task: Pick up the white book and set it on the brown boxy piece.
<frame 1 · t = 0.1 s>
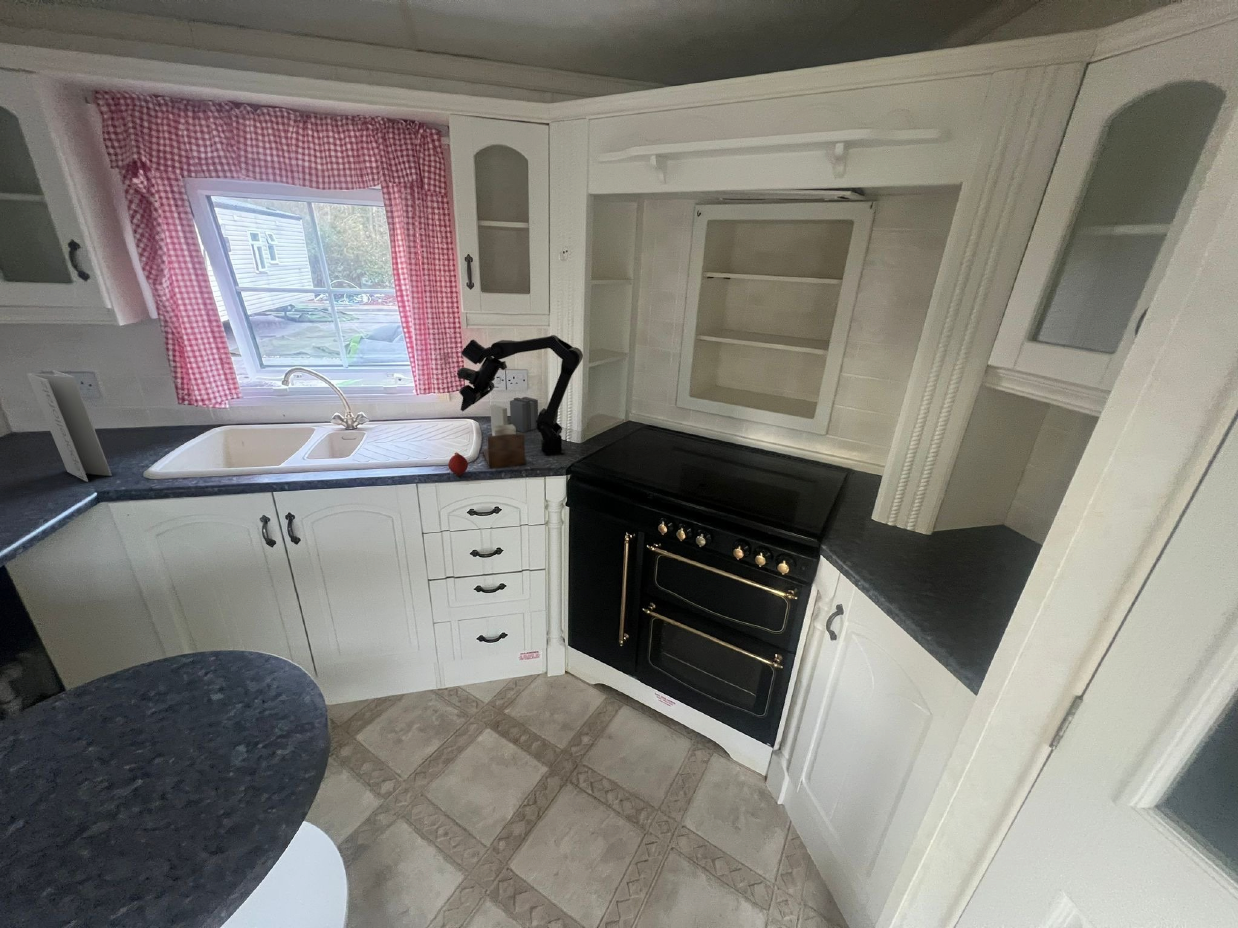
hand: (467, 407, 178), 15 cm above the countertop, tool tilted 35°, fingers open, 9 cm apart
white book: (500, 436, 195), on the countertop
brochure: (89, 474, 149), on the countertop
onion: (459, 476, 158), on the countertop
grey books: (524, 428, 206), on the countertop
brown boxy piece: (503, 458, 173), on the countertop
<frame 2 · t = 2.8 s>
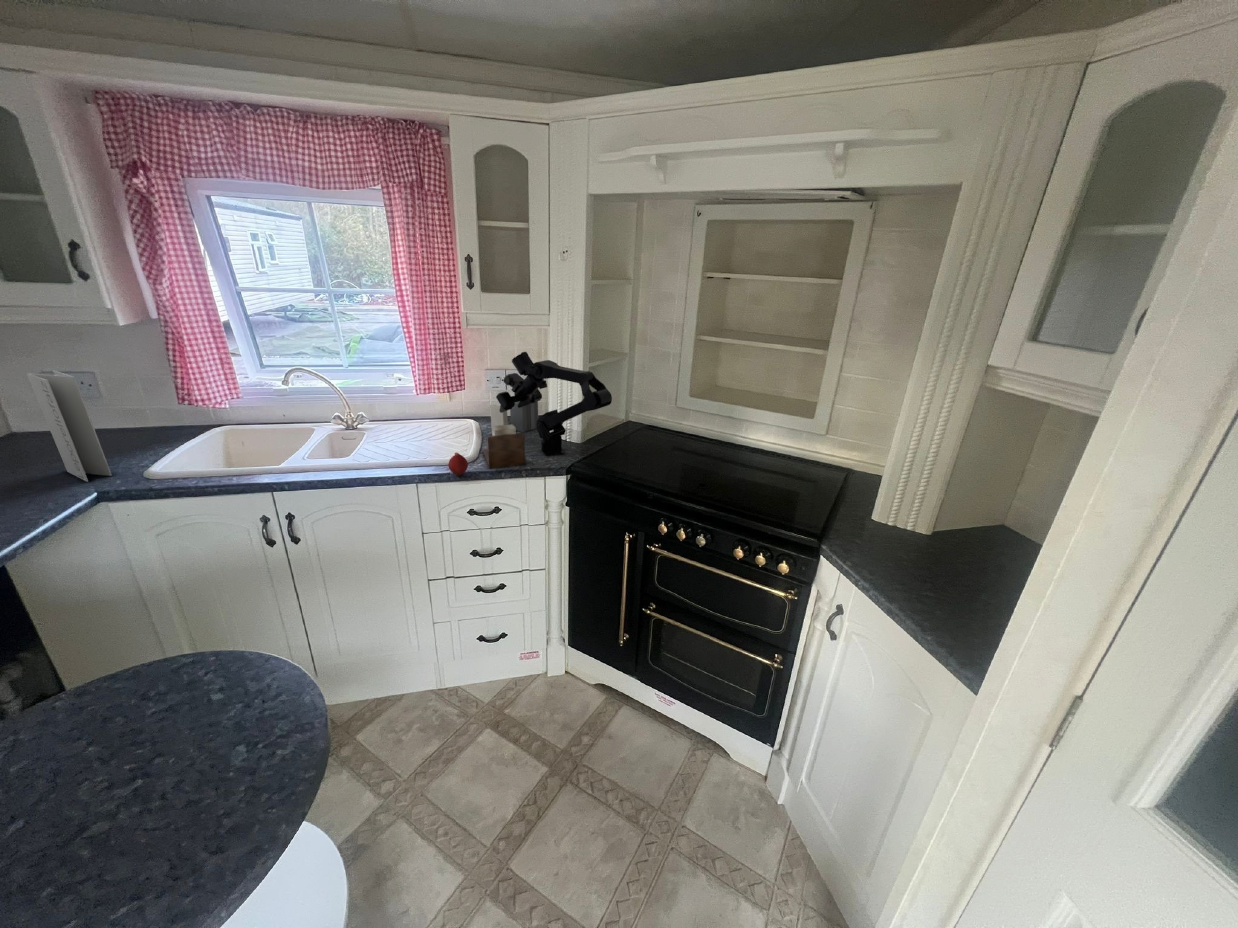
hand: (509, 409, 187), 12 cm above the countertop, tool tilted 45°, fingers open, 9 cm apart
nothing on the countertop moved.
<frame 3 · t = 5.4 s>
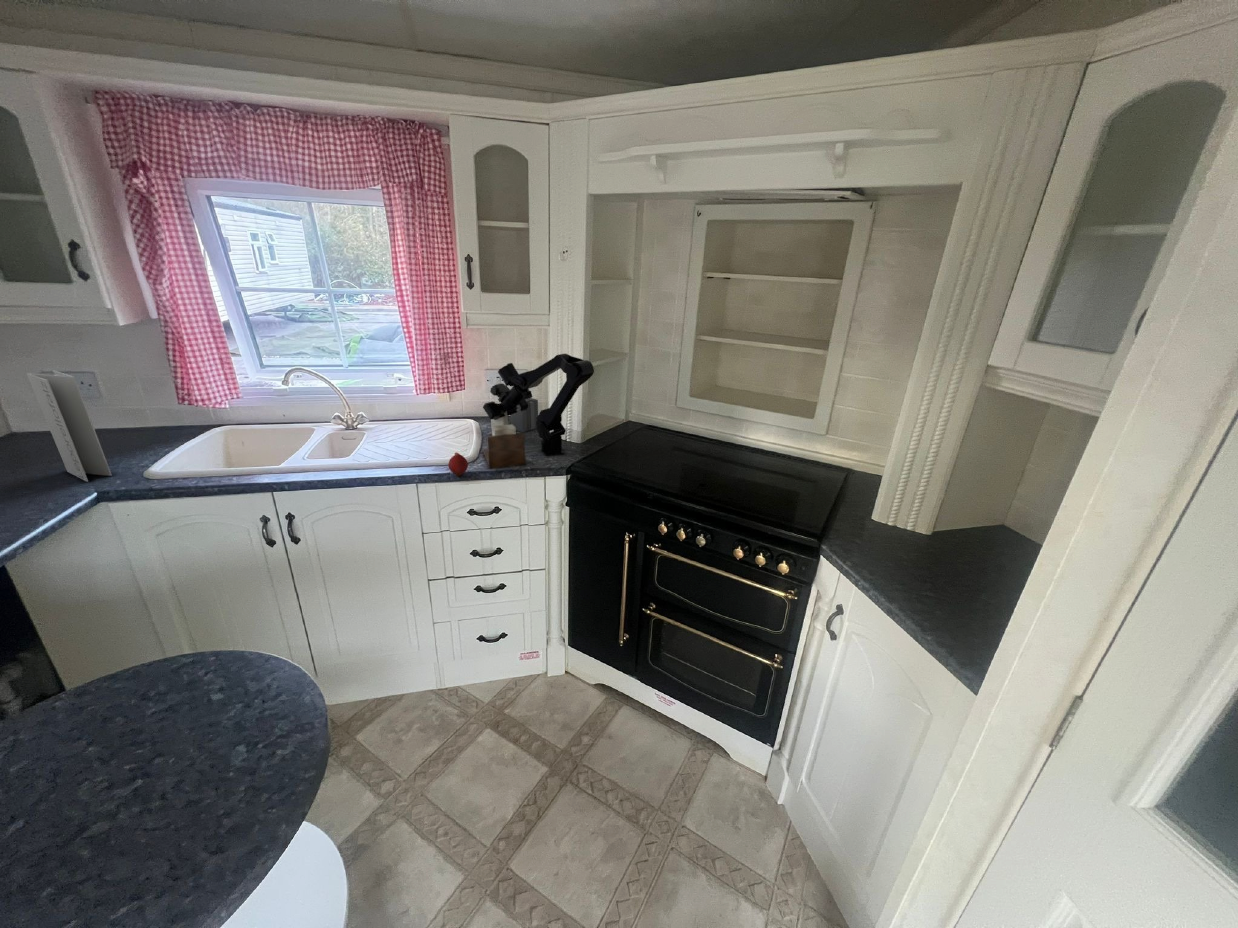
hand: (496, 418, 193), 7 cm above the countertop, tool tilted 45°, fingers closed on white book, 2 cm apart
white book: (500, 436, 195), on the countertop, touching gripper
everything else where it was.
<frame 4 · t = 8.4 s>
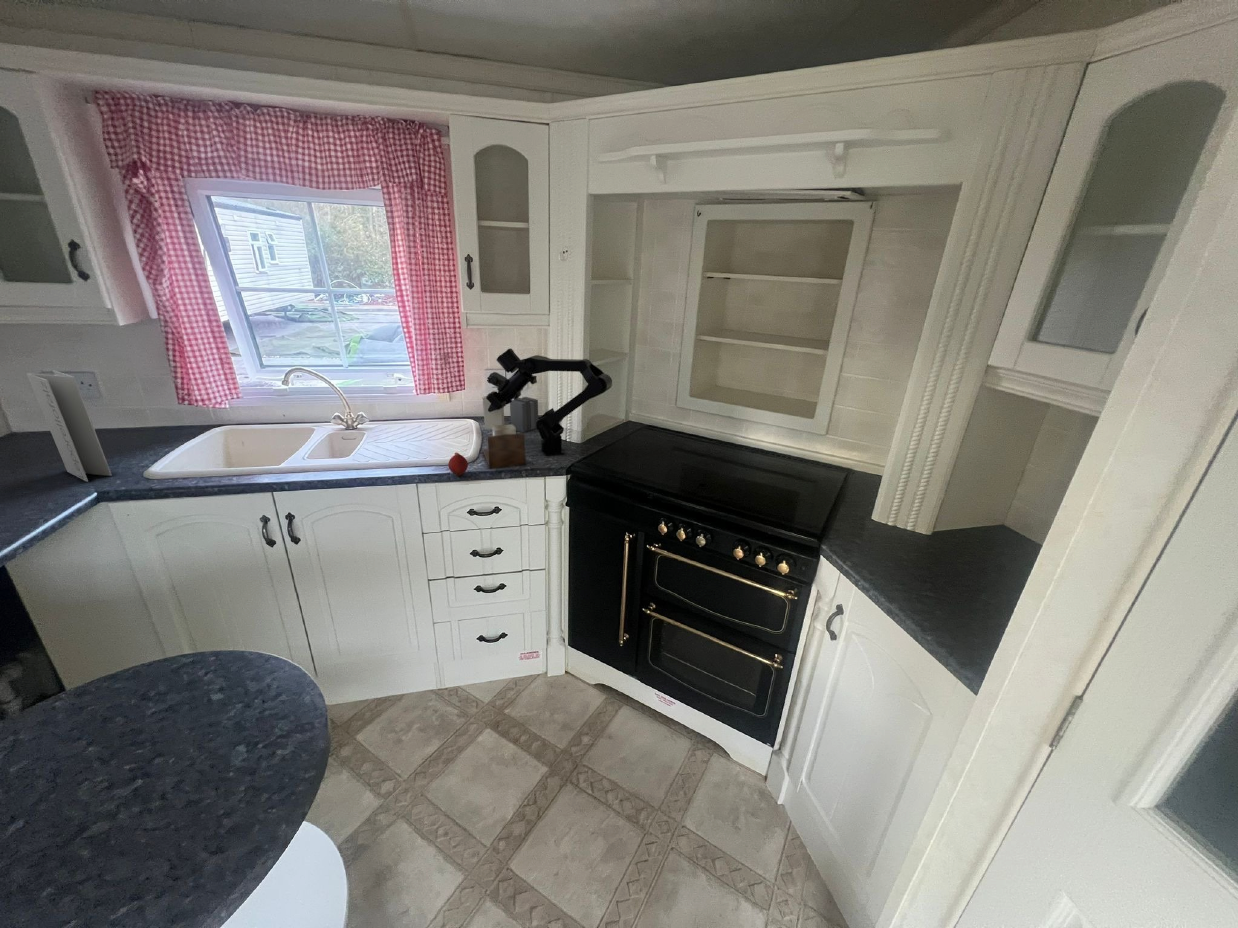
hand: (490, 410, 181), 13 cm above the countertop, tool tilted 45°, fingers closed on white book, 2 cm apart
white book: (495, 429, 183), point 6 cm above the countertop, touching gripper
everything else where it was.
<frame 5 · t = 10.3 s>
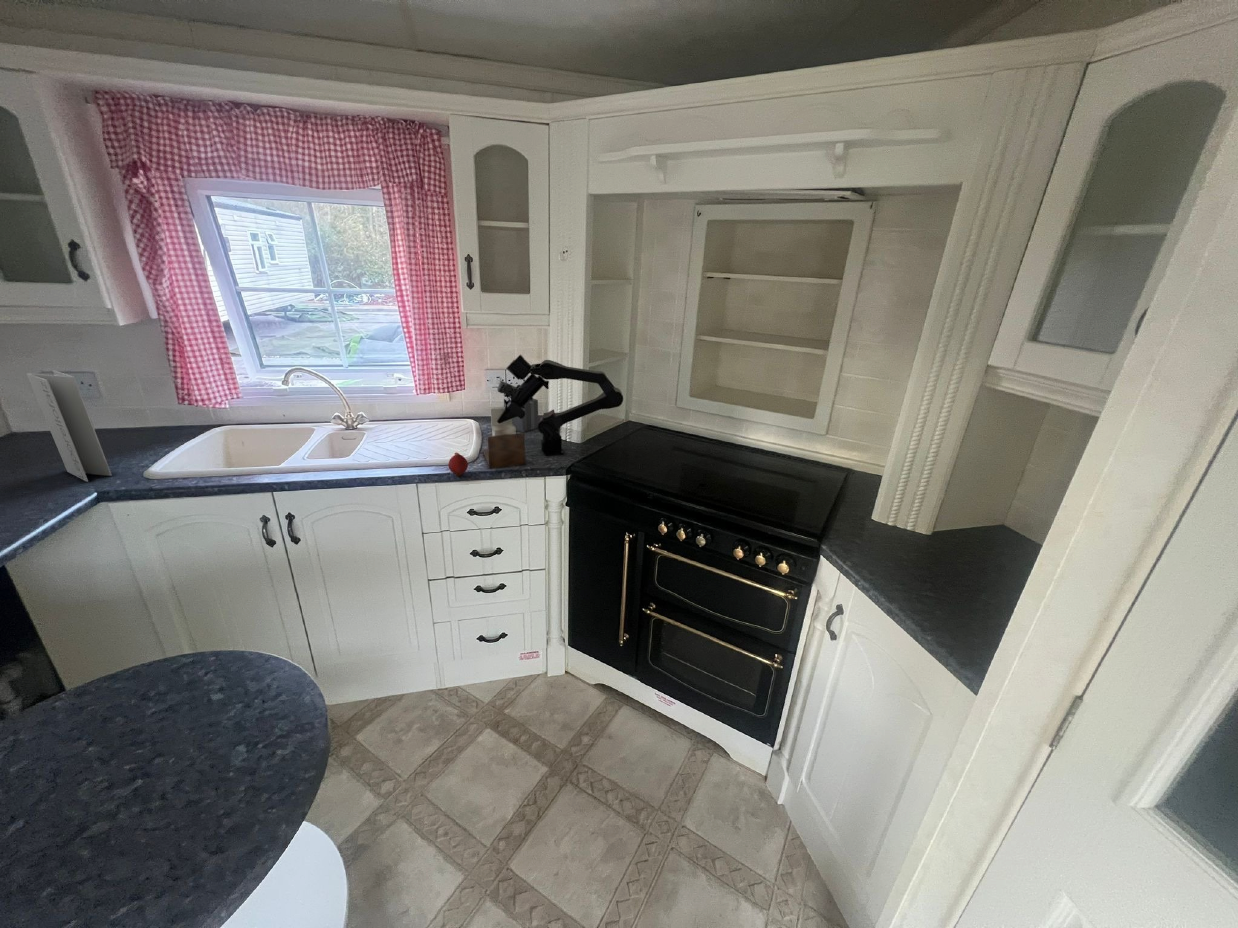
hand: (497, 421, 172), 12 cm above the countertop, tool tilted 45°, fingers closed on white book, 2 cm apart
white book: (502, 440, 175), point 5 cm above the countertop, touching gripper
everything else where it was.
when the fingers open (8 cm above the countertop, at t = 11.7 s): white book stays where it is, resting on brown boxy piece.
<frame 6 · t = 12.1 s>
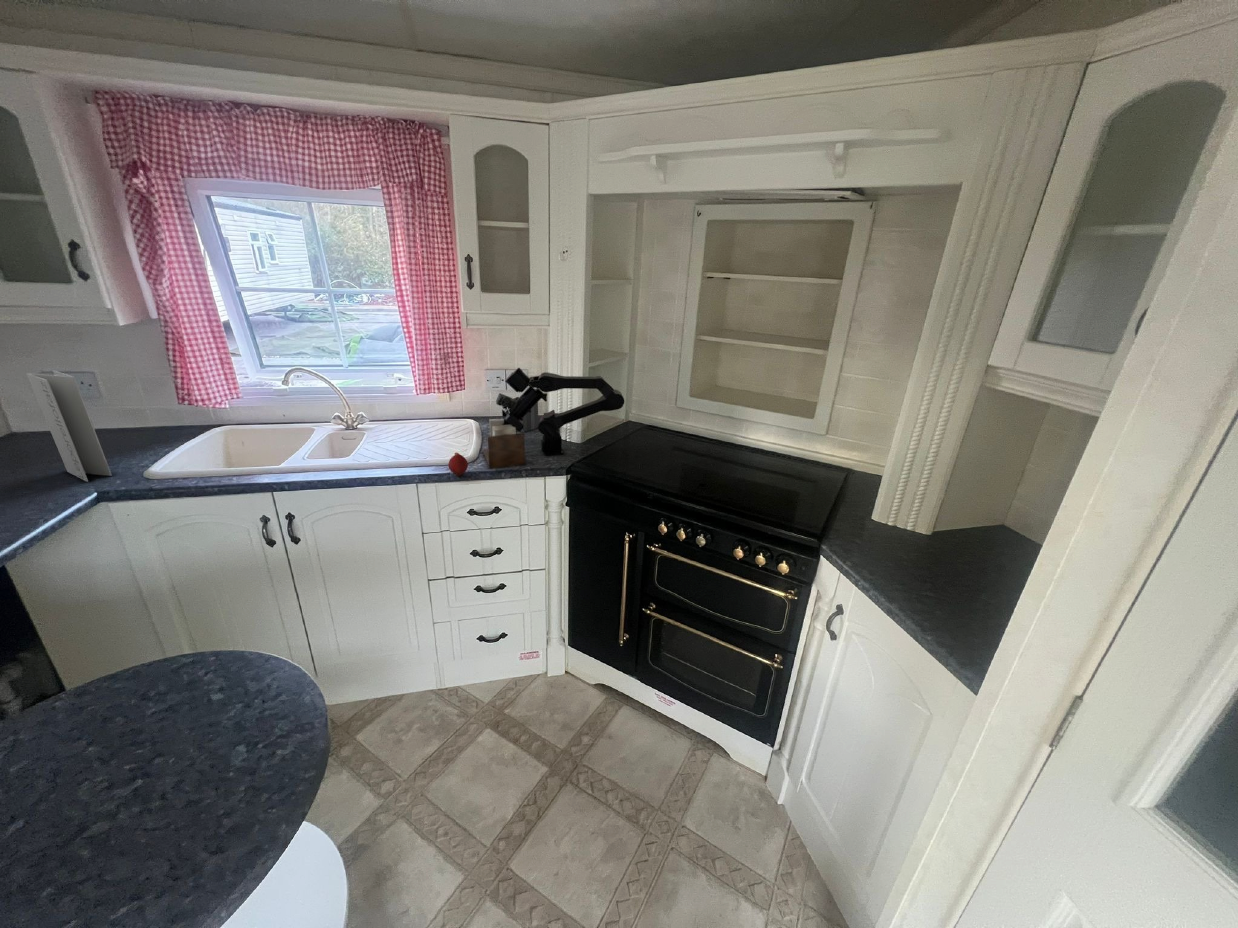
hand: (496, 433, 173), 8 cm above the countertop, tool tilted 45°, fingers open, 5 cm apart
white book: (501, 451, 176), point 1 cm above the countertop, touching brown boxy piece
everything else where it was.
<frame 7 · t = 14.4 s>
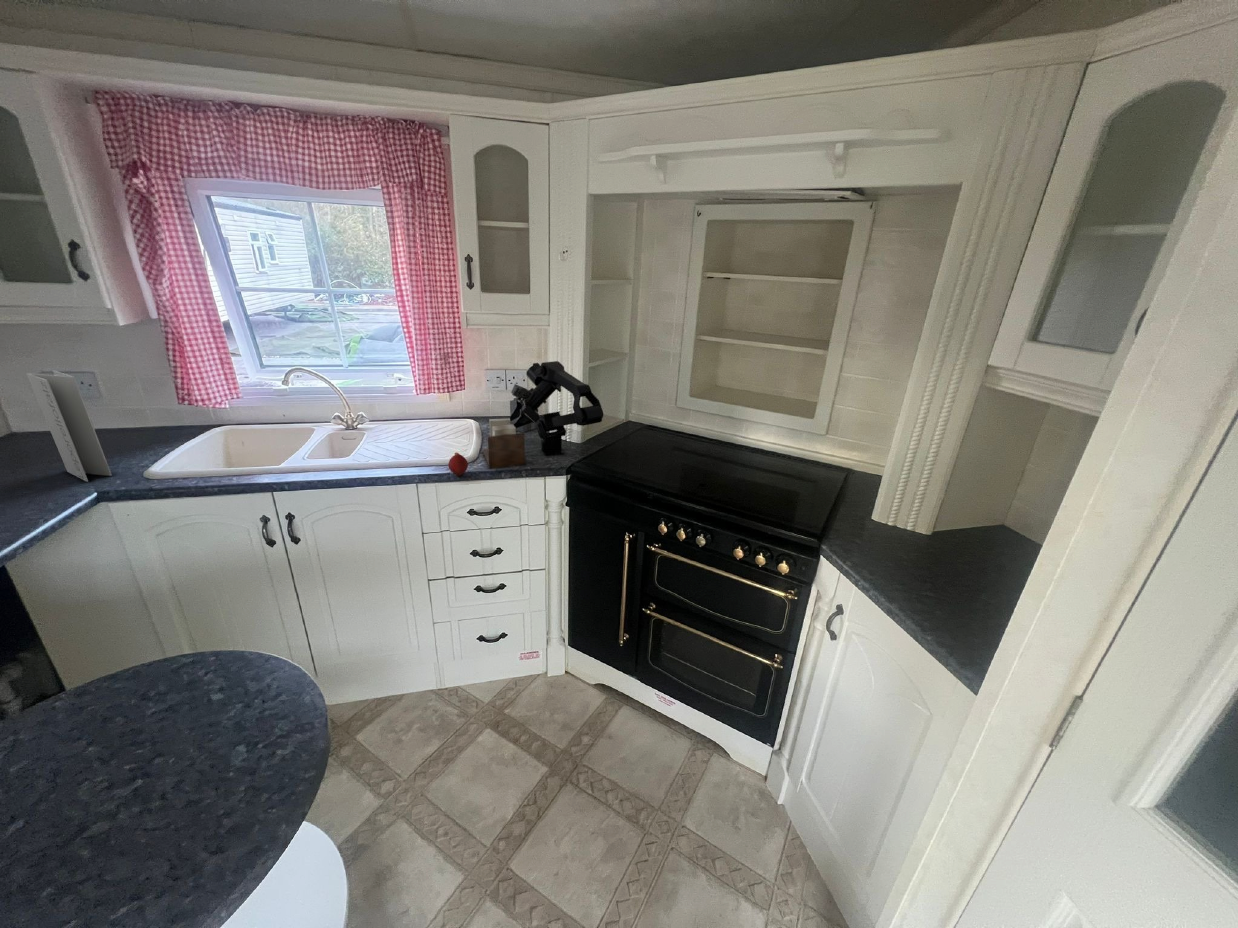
hand: (511, 424, 175), 11 cm above the countertop, tool tilted 45°, fingers open, 9 cm apart
nothing on the countertop moved.
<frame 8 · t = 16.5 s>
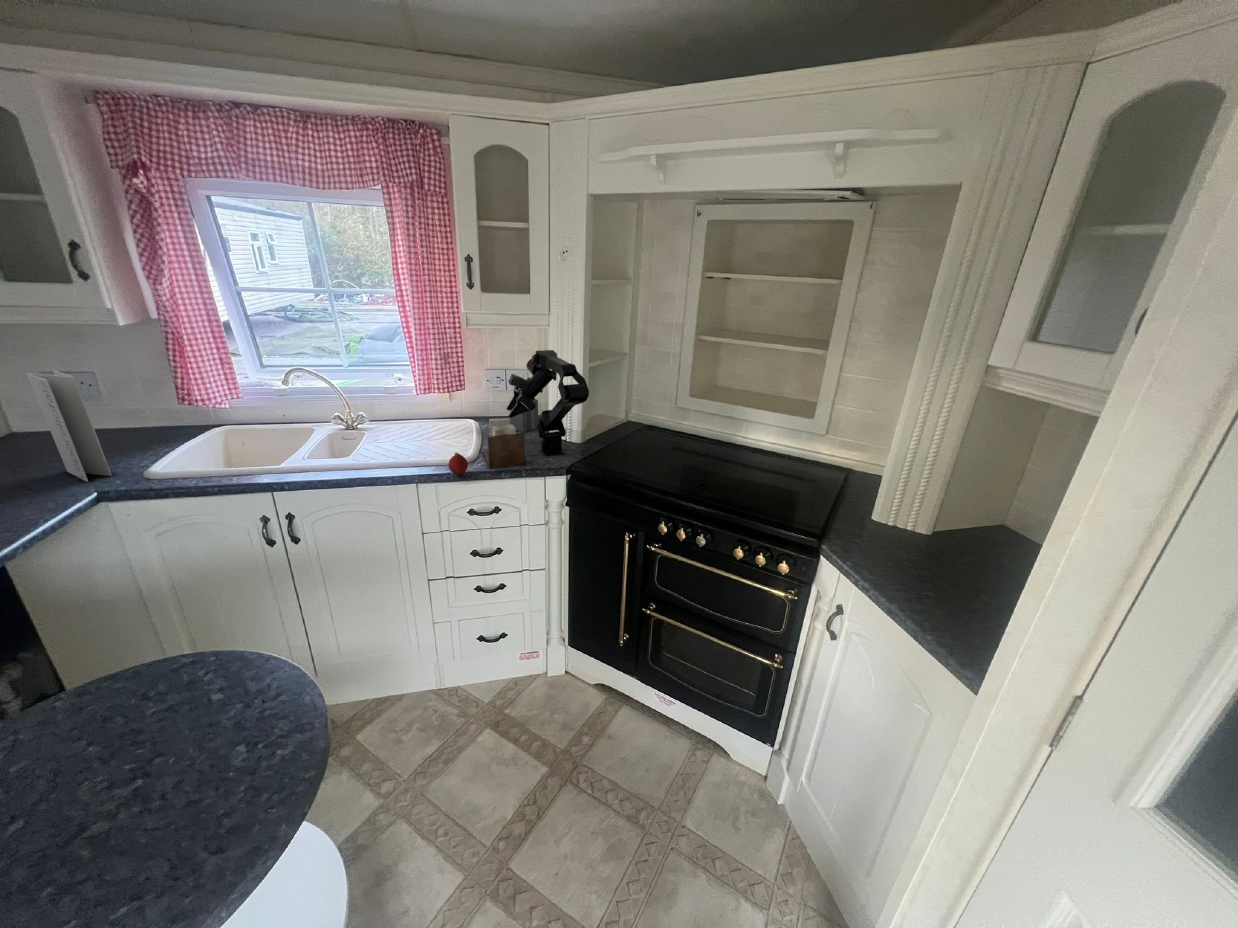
hand: (508, 413, 178), 14 cm above the countertop, tool tilted 45°, fingers open, 9 cm apart
nothing on the countertop moved.
at the end: white book 0.4 cm from the target spot on the brown boxy piece, point 1.0 cm above the brown boxy piece's base; white book tilted 1°; the gripper is holding nothing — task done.
